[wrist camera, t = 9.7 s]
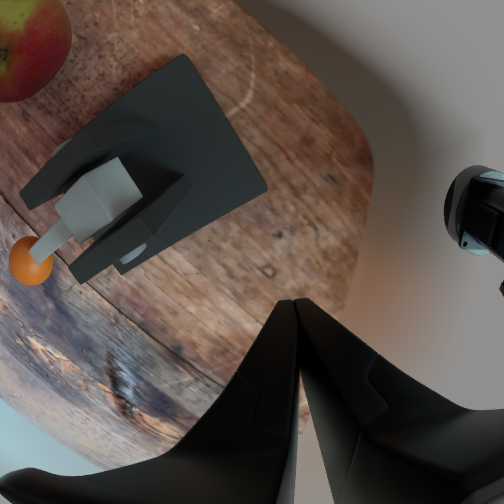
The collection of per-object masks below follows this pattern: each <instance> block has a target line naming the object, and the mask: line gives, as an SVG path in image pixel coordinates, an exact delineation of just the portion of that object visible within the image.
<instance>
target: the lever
mask: <svg viewBox="0 0 504 504" xmlns="http://www.w3.org/2000/svg"><path fill="white" fill-rule="evenodd" d="M142 197H143V196H142V194H141V192H140V191H139V189H138V188H137V186H136V185H135V183H134V182H133V180H132V179H131V177H130V176H129V174H128V172H127V171H126V169H125V168H124V166H123V165H122V163H121V161H120V160H119V158H118V157H116V158H114V159H112V160H110V161H108V162H106V163H104V164H102V165H100V166H99V167H97V168H95V169H93V170H91V171H90V172H88V173H86V174H84V175H82V176H81V177H80V178H79V179H78V180H77V181H76V182H75V183H74V184H73V185H72V186H71V187H70V188H69V189H68V191H67V192H66V193H65V194H64V195H63V196H62V197H61V198H60V199H59V200H58V201H57V202H56V203H55V204H54V207H55V209H56V210H57V212H58V213H59V215H60V216H61V217H60V218H59V219H58V220H57V221H56V222H55V223H54V224H53V225H52V226H51V227H50V228H49V229H48V230H47V231H46V232H45V233H44V234H43V236H42V237H41V238H38V237H35V236H27V237H24V238H21V239H20V240H18V241H17V242H16V243H15V244H14V246H13V247H12V249H11V251H10V255H9V266H10V270H11V272H12V274H13V276H14V277H15V279H16V280H17V281H19V282H20V283H22V284H24V285H27V286H35V285H38V284H40V283H42V282H44V281H45V280H46V279H47V278H48V276H49V275H50V273H51V270H52V266H53V256H52V253H53V252H54V251H55V250H56V249H57V248H59V247H60V246H61V245H62V244H63V243H65V242H66V241H67V240H68V239H69V238H70V237H72V236H74V237H75V239H76V240H77V242H78V243H79V244H81V243H83V242H84V241H85V240H87V239H88V238H90V237H91V236H92V235H94V234H95V233H96V232H98V231H99V230H101V229H102V228H103V227H105V226H106V225H108V224H109V223H110V222H112V221H113V220H114V219H116V218H117V217H118V216H119V215H121V214H122V213H123V212H124V211H126V210H127V209H128V208H130V207H131V206H132V205H133V204H135V203H136V202H137V201H139V200H140V199H141V198H142Z"/></svg>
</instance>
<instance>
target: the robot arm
mask: <svg viewBox="0 0 504 504" xmlns="http://www.w3.org/2000/svg"><path fill="white" fill-rule="evenodd" d="M475 181H476V184H475ZM464 242H465V243H464ZM463 243H464V244H463ZM459 247H461V248H462V249H477V250H488V251H489V252H491V253H492V254H493V255H495V256H496V257H497V258H498V259H500V260H501V261H502V262H504V181H500V180H494V179H489V178H483V177H477V176H473V177H472V178H471V179H470V184H469V191H468V197H467V203H466V209H465V214H464V219H463V224H462V229H461V234H460V238H459ZM499 289H500V291H501V293H502V295H503V296H504V281H503V283H501V286H500V288H499ZM300 374H301V378H302V382H303V386H304V390H305V393H306V397H307V401H308V405H309V408H310V412H311V416H312V420H313V423H314V427H315V431H316V435H317V438H318V442H319V446H320V450H321V454H322V458H323V461H324V465H325V469H326V472H327V477H328V481H329V484H330V488H331V492H332V496H333V500H334V504H504V409H497V410H471V409H467V408H464V407H461V406H459V405H457V404H455V403H453V402H451V401H450V400H448V399H446V398H444V397H443V396H441V395H440V394H438V393H436V392H435V391H433V390H431V389H429V388H428V387H426V386H425V385H423V384H421V383H420V382H418V381H416V380H415V379H413V378H412V377H410V376H409V375H407V374H405V373H404V372H403V371H401V370H400V369H398V368H397V367H396V366H394V365H393V364H392V363H390V362H389V361H387V360H386V359H385V358H384V357H382V356H381V355H380V354H378V353H377V352H376V351H374V350H373V349H372V348H371V347H370V346H368V345H367V344H366V343H364V342H363V341H362V340H361V339H359V338H358V337H357V336H356V335H354V334H353V333H352V332H350V331H349V330H348V329H347V328H345V327H344V326H343V325H342V324H340V323H339V322H338V321H337V320H335V319H334V318H333V317H332V316H330V315H329V314H328V313H326V312H325V311H324V310H323V309H321V308H320V307H319V306H318V305H316V304H315V303H314V302H313V301H311V300H310V299H309V298H299V299H294V301H293V300H291V299H289V300H280V301H278V302H277V304H276V305H275V307H274V309H273V310H272V312H271V314H270V316H269V317H268V319H267V321H266V322H265V324H264V326H263V327H262V329H261V331H260V332H259V334H258V336H257V337H256V339H255V341H254V342H253V344H252V346H251V347H250V349H249V351H248V352H247V354H246V356H245V357H244V359H243V361H242V362H241V364H240V365H239V367H238V369H237V371H236V372H235V373H234V375H233V376H232V378H231V380H230V381H229V383H228V384H227V386H226V387H225V389H224V390H223V392H222V393H221V394H220V396H219V397H218V398H217V399H216V401H215V402H214V403H213V404H212V405H211V407H210V408H209V409H208V410H207V411H206V412H205V414H204V415H203V416H202V417H201V418H200V419H199V420H198V421H197V423H196V424H195V425H194V426H193V427H192V428H191V429H190V430H189V431H188V432H187V434H186V435H185V436H184V437H183V438H182V439H181V440H180V441H179V442H178V443H177V444H176V445H175V446H174V447H173V448H171V449H170V450H169V451H167V452H166V453H164V454H162V455H161V456H158V457H156V458H153V459H149V460H146V461H142V462H139V463H135V464H132V465H128V466H124V467H120V468H117V469H113V470H108V471H104V472H100V473H95V474H91V475H84V476H60V475H56V474H52V473H49V472H46V471H43V470H40V469H36V468H24V469H20V470H17V471H13V472H10V473H8V474H6V475H4V476H2V477H1V478H0V494H1V495H2V496H3V497H4V498H6V499H7V500H8V501H9V502H11V503H12V504H294V491H295V477H296V461H297V460H296V459H297V443H298V421H299V393H300Z"/></svg>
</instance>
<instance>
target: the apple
mask: <svg viewBox="0 0 504 504" xmlns="http://www.w3.org/2000/svg"><path fill="white" fill-rule="evenodd" d="M71 40H72V36H71V26H70V21H69V18H68V15H67V13H66V10H65V8H64V6H63V5H62V3H61V2H60V0H0V102H17V101H20V100H23V99H26V98H28V97H30V96H32V95H34V94H35V93H36V92H38V91H39V90H40V89H42V88H43V87H44V86H45V85H46V84H47V83H49V82H50V81H51V79H52V78H53V77H54V76H55V75H56V74H57V72H58V71H59V70H60V68H61V67H62V65H63V64H64V62H65V60H66V57H67V55H68V53H69V50H70V46H71Z"/></svg>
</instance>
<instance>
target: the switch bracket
mask: <svg viewBox="0 0 504 504" xmlns="http://www.w3.org/2000/svg"><path fill="white" fill-rule="evenodd" d="M51 157H52V158H51V159H50V160H49V161H48V162H47V163H46V164H45V165H44V166H43V167H42V168H41V169H40V171H39V172H38V173H37V174H36V175H35V176H34V177H33V178H32V179H31V180H30V181H29V182H28V183H27V185H26V186H25V187H24V188H23V189H22V190H21V191H20V193H19V194H20V196H21V198H22V199H23V201H24V203H25V204H26V206H27V208H28V209H29V210H32V209H34V208H36V207H38V206H40V205H41V204H43V203H45V202H47V201H49V200H51V199H52V198H54V197H56V196H58V195H60V194H62V193H64V194H65V193H66V192H67V191H68V189H69V188H70V187H71V186H72V185H73V184H74V183H75V182H76V181H77V180H78V179H79V178H80V177H81V176H82V175H84V174H86V173H88V172H90V171H91V170H93V169H95V168H97V167H99V166H100V165H102V164H104V163H106V162H108V161H110V160H112V159H114V158H116V157H118V158H119V160H120V161H121V163H122V165H123V166H124V168H125V169H126V171H127V172H128V174H129V176H130V177H131V179H132V180H133V182H134V183H135V185H136V186H137V188H138V189H139V191H140V192H141V194H142V196H143V197H142V198H141V199H140V200H139V201H137V202H136V203H135V204H133V205H132V206H131V207H130V208H128V209H127V210H126V211H124V212H123V213H122V214H121V215H119V216H118V217H117V218H116V219H114V220H113V221H112V222H110V223H109V224H108V225H106V226H105V227H103V228H102V229H101V230H99V231H98V232H96V233H95V234H94V235H92V236H93V237H94V239H95V240H96V241H95V242H94V243H93V244H92V245H90V246H89V247H88V248H87V249H86V250H85V251H84V252H83V253H82V254H81V255H80V256H79V257H78V258H77V259H76V260H75V261H74V262H73V263H71V264H70V265H69V267H68V269H69V270H70V272H71V273H72V274H73V276H74V277H75V278H76V280H77V281H78V282H79V284H83V283H85V282H86V281H88V280H89V279H91V278H92V277H94V276H95V275H97V274H98V273H100V272H101V271H103V270H104V269H106V268H107V267H109V266H110V265H112V264H113V265H114V267H115V268H116V269H117V271H118V272H119V273H120V275H123V274H125V273H126V272H128V271H130V270H131V269H133V268H135V267H136V266H138V265H140V264H141V263H143V262H144V261H146V260H148V259H149V258H151V257H153V256H154V255H156V254H158V253H159V252H161V251H163V250H165V249H166V248H168V247H170V246H171V245H173V244H175V243H176V242H178V241H180V240H181V239H183V238H185V237H187V236H188V235H190V234H192V233H193V232H195V231H197V230H199V229H200V228H202V227H204V226H206V225H207V224H209V223H211V222H213V221H214V220H216V219H218V218H220V217H221V216H223V215H225V214H227V213H229V212H230V211H232V210H234V209H236V208H237V207H239V206H241V205H243V204H245V203H246V202H248V201H250V200H252V199H254V198H256V197H257V196H259V195H261V194H263V193H265V192H267V191H268V189H267V184H266V183H265V181H264V179H263V177H262V176H261V174H260V172H259V171H258V169H257V167H256V166H255V164H254V162H253V160H252V159H251V157H250V155H249V154H248V152H247V150H246V149H245V147H244V145H243V144H242V142H241V140H240V139H239V137H238V135H237V134H236V132H235V130H234V129H233V127H232V126H231V124H230V122H229V121H228V119H227V117H226V116H225V114H224V113H223V111H222V109H221V108H220V106H219V105H218V103H217V101H216V100H215V98H214V97H213V95H212V93H211V92H210V90H209V89H208V87H207V85H206V84H205V82H204V81H203V79H202V78H201V76H200V75H199V73H198V71H197V70H196V68H195V67H194V65H193V64H192V62H191V61H190V59H189V58H188V57H187V56H186V55H185V54H182V55H180V56H178V57H177V58H175V59H174V60H172V61H171V62H169V63H167V64H166V65H164V66H163V67H161V68H160V69H158V70H157V71H155V72H154V73H153V74H151V75H150V76H148V77H147V78H145V79H144V80H143V81H141V82H140V83H138V84H137V85H136V86H134V87H133V88H132V89H130V90H129V91H128V92H126V93H125V94H124V95H122V96H121V97H120V98H119V99H117V100H116V101H115V102H113V103H112V104H111V105H110V106H108V107H107V108H106V109H105V110H104V111H102V112H101V113H100V114H99V115H97V116H96V117H95V118H94V119H93V120H92V121H90V122H89V123H88V124H87V125H86V126H85V127H84V128H82V129H81V130H80V131H79V132H78V133H77V134H76V135H75V136H74V137H72V138H71V139H69V140H67V141H65V142H64V143H62V144H61V145H59V146H58V147H57V148H56V149H55V150H54V151H53V153H52V154H51Z"/></svg>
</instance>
